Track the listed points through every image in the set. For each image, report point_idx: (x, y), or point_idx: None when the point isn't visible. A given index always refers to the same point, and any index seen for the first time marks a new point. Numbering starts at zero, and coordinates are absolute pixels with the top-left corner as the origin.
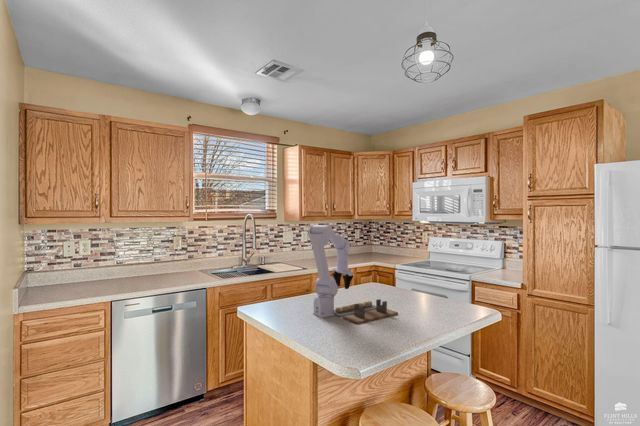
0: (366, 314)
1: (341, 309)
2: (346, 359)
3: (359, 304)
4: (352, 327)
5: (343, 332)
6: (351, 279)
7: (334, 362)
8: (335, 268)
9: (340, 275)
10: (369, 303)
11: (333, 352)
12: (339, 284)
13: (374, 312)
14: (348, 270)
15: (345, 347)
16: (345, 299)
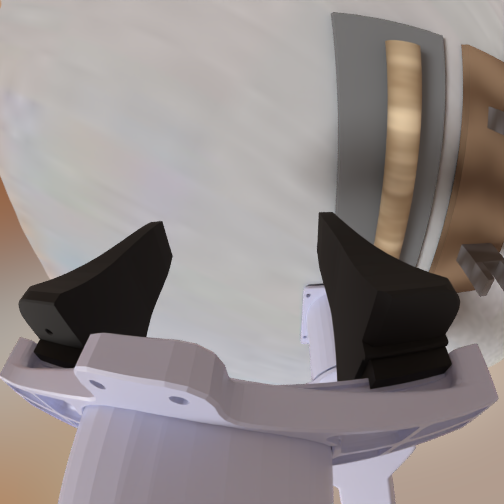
0: (482, 208)
1: None
2: (498, 356)
3: (416, 159)
4: (475, 300)
5: (468, 329)
6: (405, 268)
7: (487, 367)
8: (33, 401)
9: (98, 298)
10: (421, 70)
11: None
12: (157, 235)
13: (492, 155)
14: (333, 433)
15: (489, 347)
16: (123, 73)
